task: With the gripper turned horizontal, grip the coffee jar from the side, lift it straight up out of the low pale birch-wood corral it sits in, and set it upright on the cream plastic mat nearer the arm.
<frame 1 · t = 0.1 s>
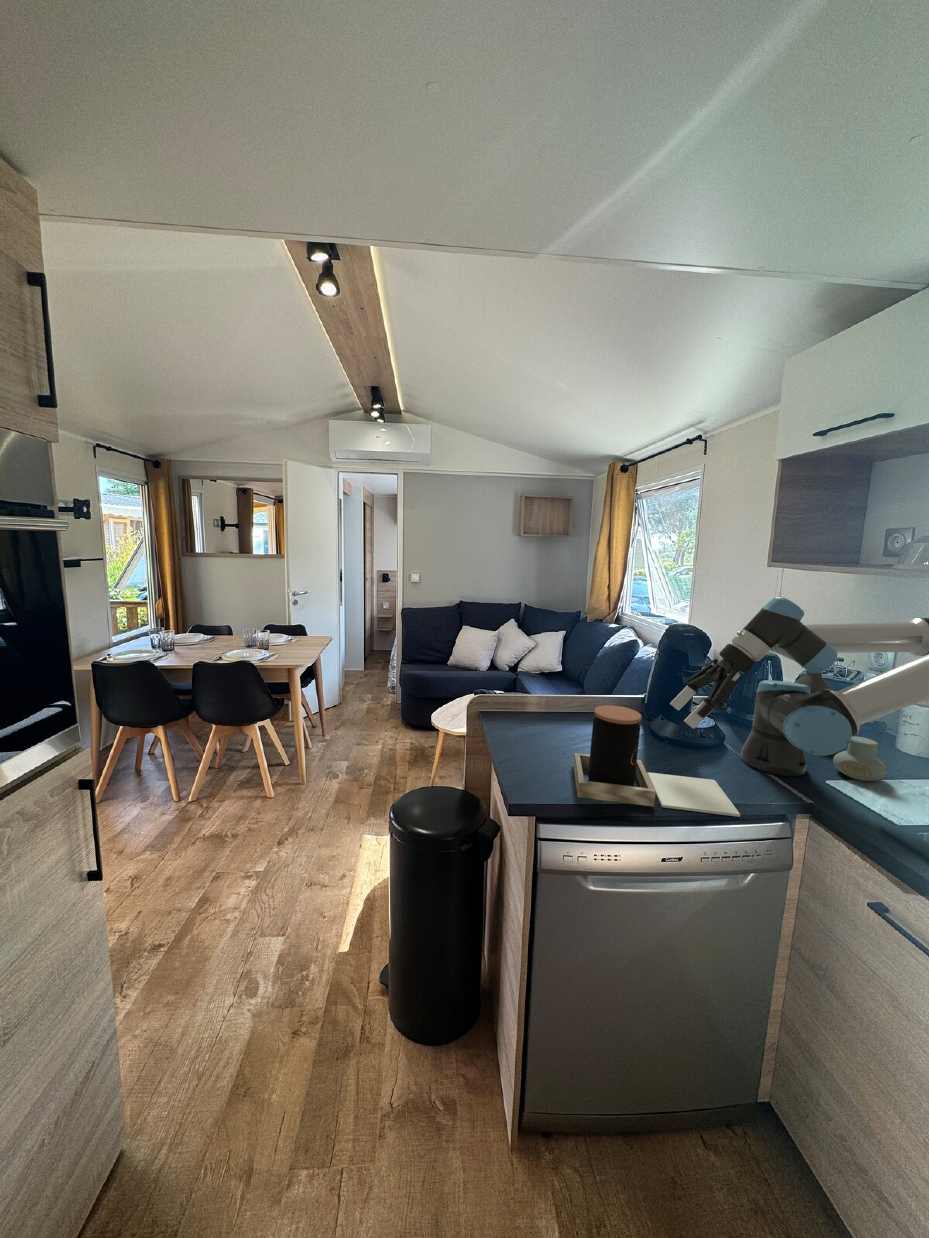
hand: (680, 715, 122), 15 cm above the countertop, tool tilted 35°, fingers open, 13 cm apart
birch corral: (610, 784, 117), on the countertop
cream mat: (689, 793, 114), on the countertop
liquor: (803, 738, 155), on the countertop
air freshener: (857, 777, 128), on the countertop
coffee jar: (610, 785, 117), resting in birch corral
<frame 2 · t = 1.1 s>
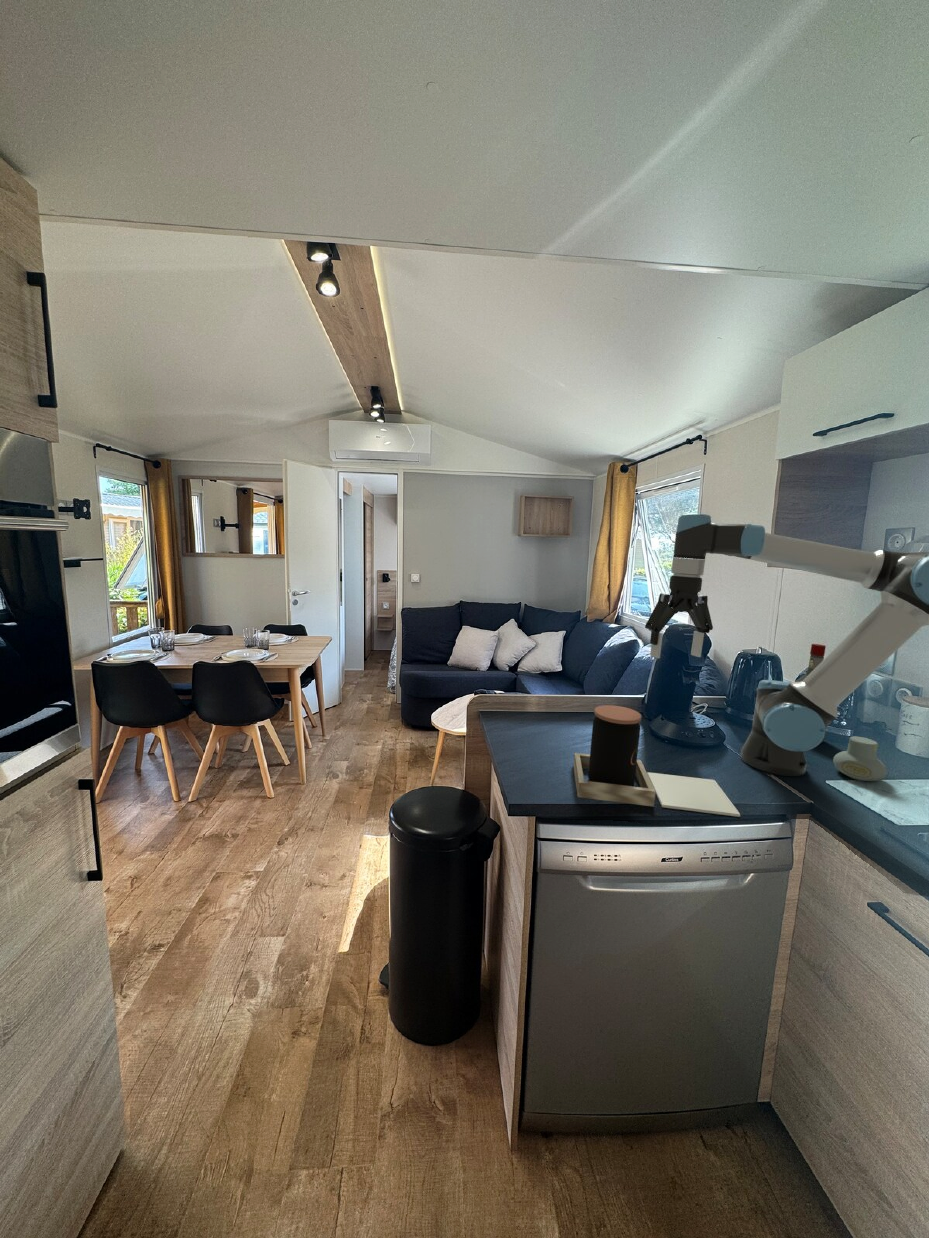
hand: (675, 656, 128), 29 cm above the countertop, tool pointing down, fingers open, 13 cm apart
nothing on the countertop moved.
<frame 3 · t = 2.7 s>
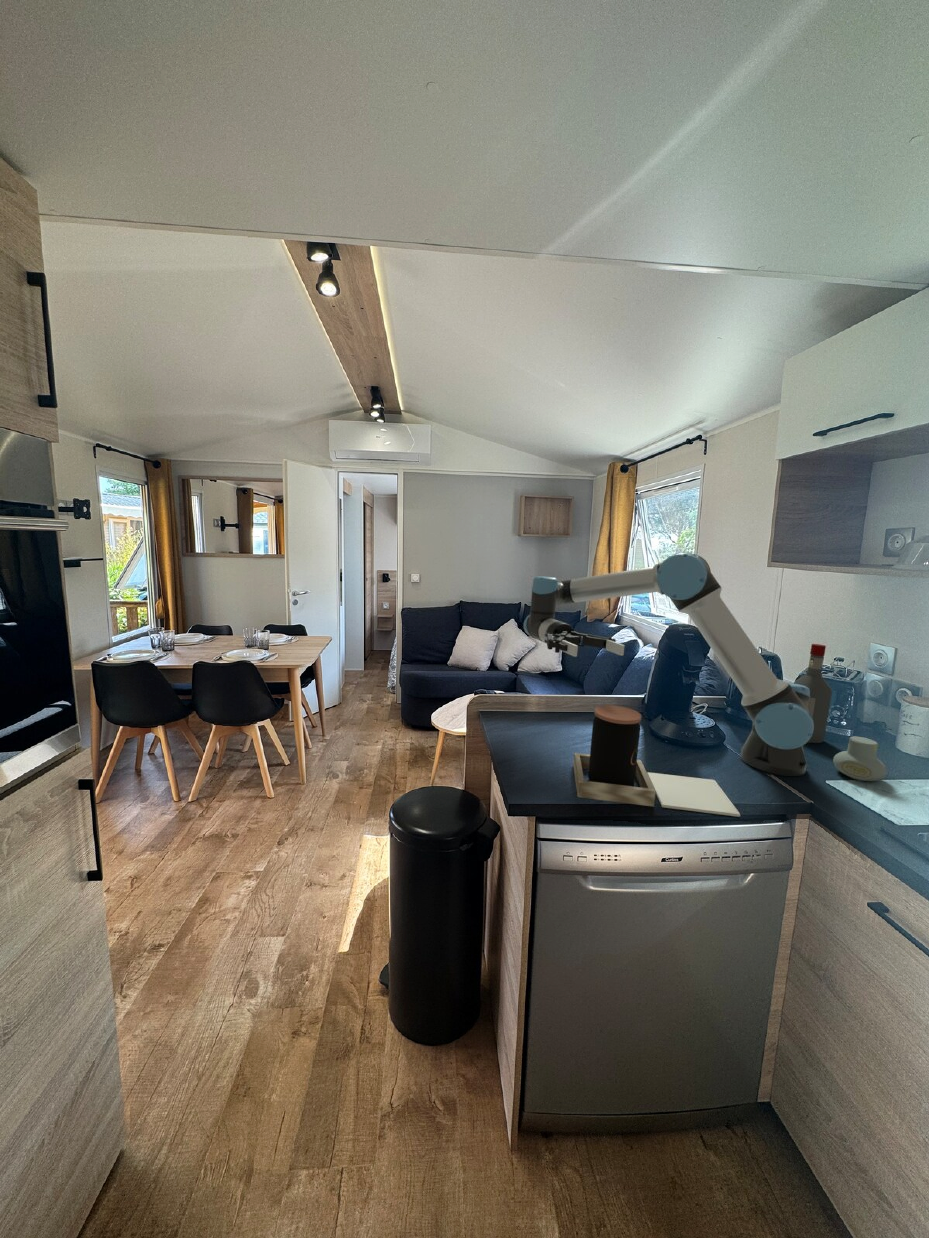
hand: (599, 650, 121), 31 cm above the countertop, tool horizontal, fingers open, 13 cm apart
nothing on the countertop moved.
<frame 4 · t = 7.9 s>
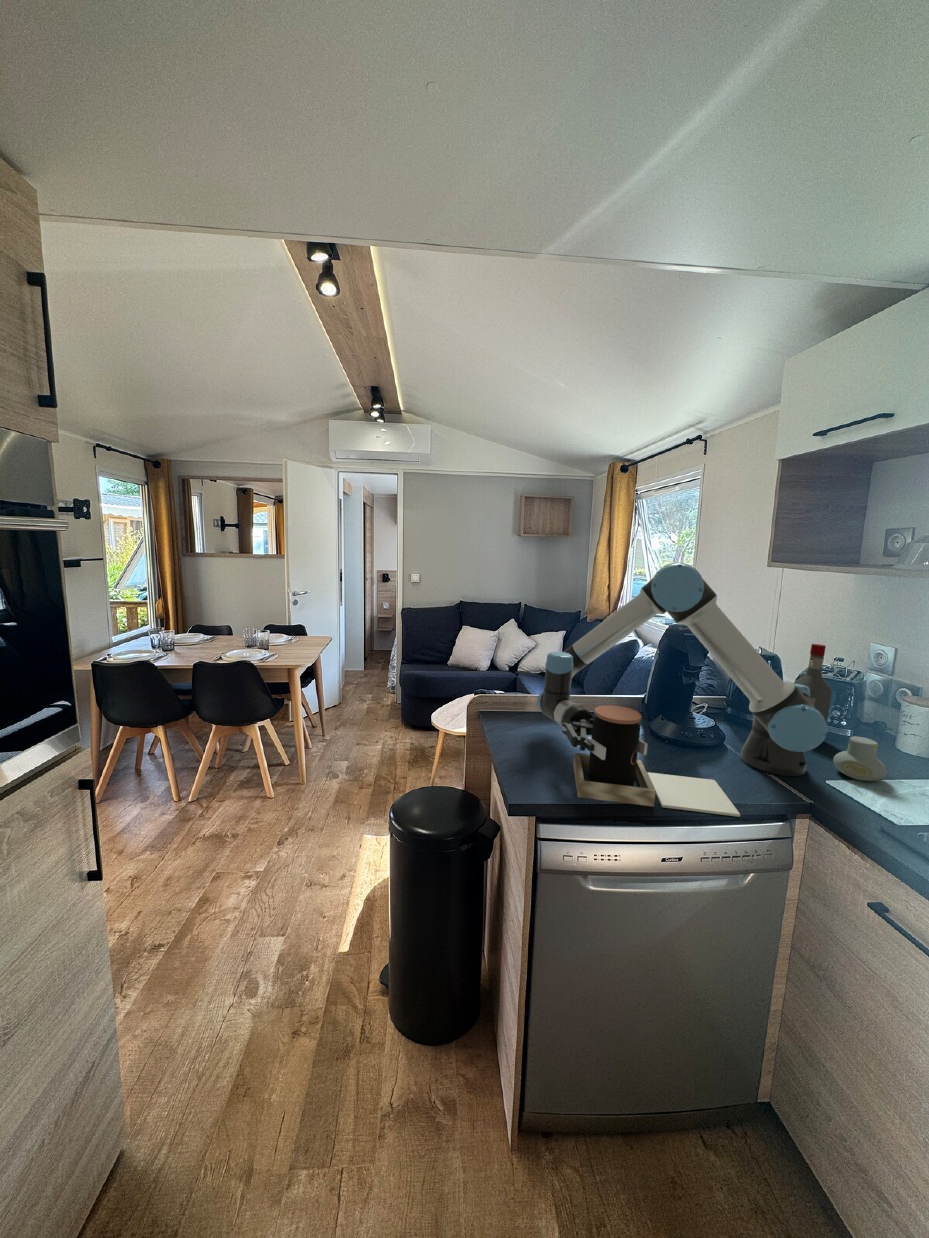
hand: (625, 751, 111), 10 cm above the countertop, tool horizontal, fingers closed on coffee jar, 11 cm apart
coffee jar: (610, 785, 117), resting in birch corral, touching gripper
everything else where it was.
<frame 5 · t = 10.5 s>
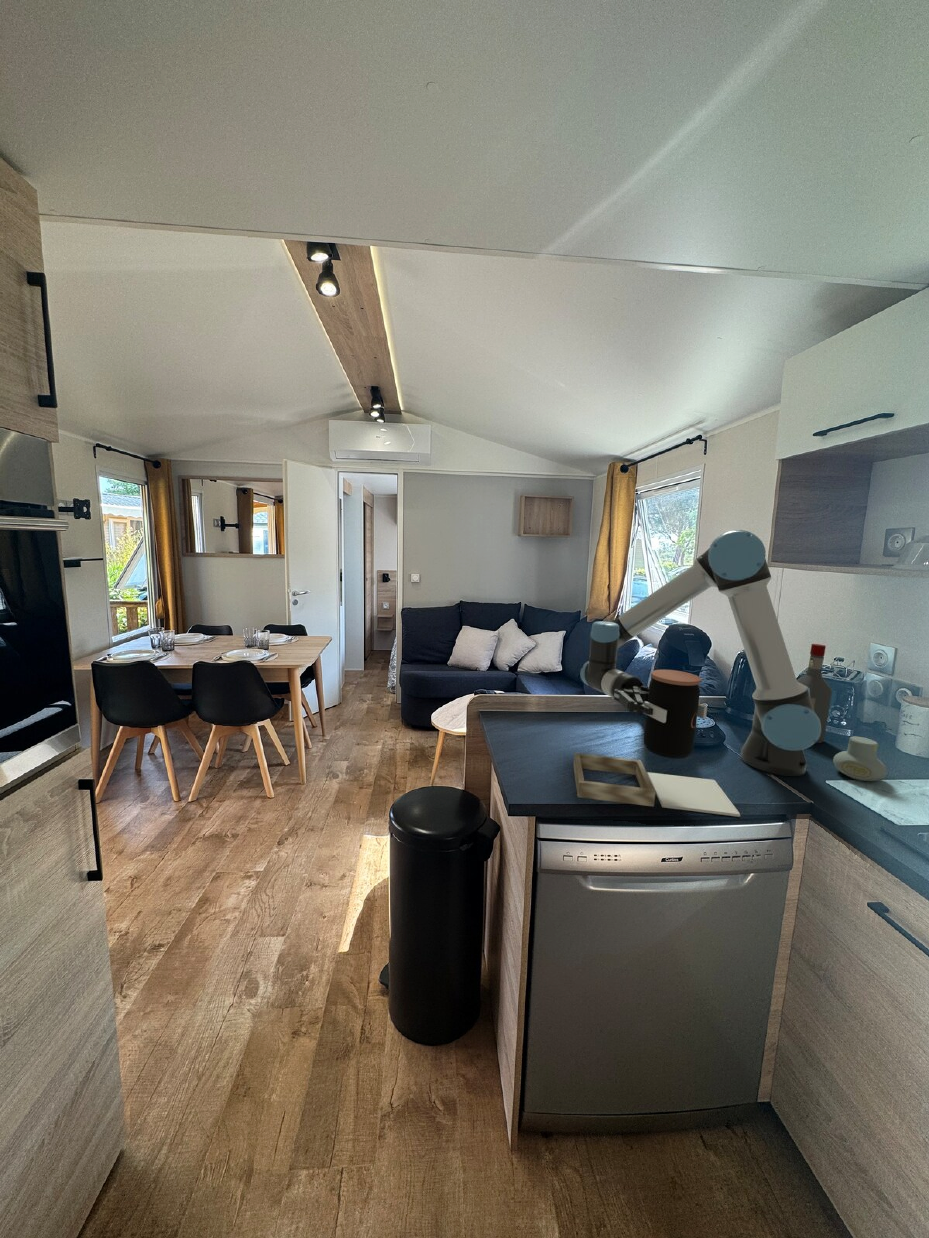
hand: (685, 714, 108), 20 cm above the countertop, tool horizontal, fingers closed on coffee jar, 11 cm apart
coffee jar: (667, 750, 114), point 10 cm above the countertop, touching gripper
everything else where it was.
when the fingers open (11 cm above the countertop, at t = 13.6 s): coffee jar stays where it is, resting on cream mat.
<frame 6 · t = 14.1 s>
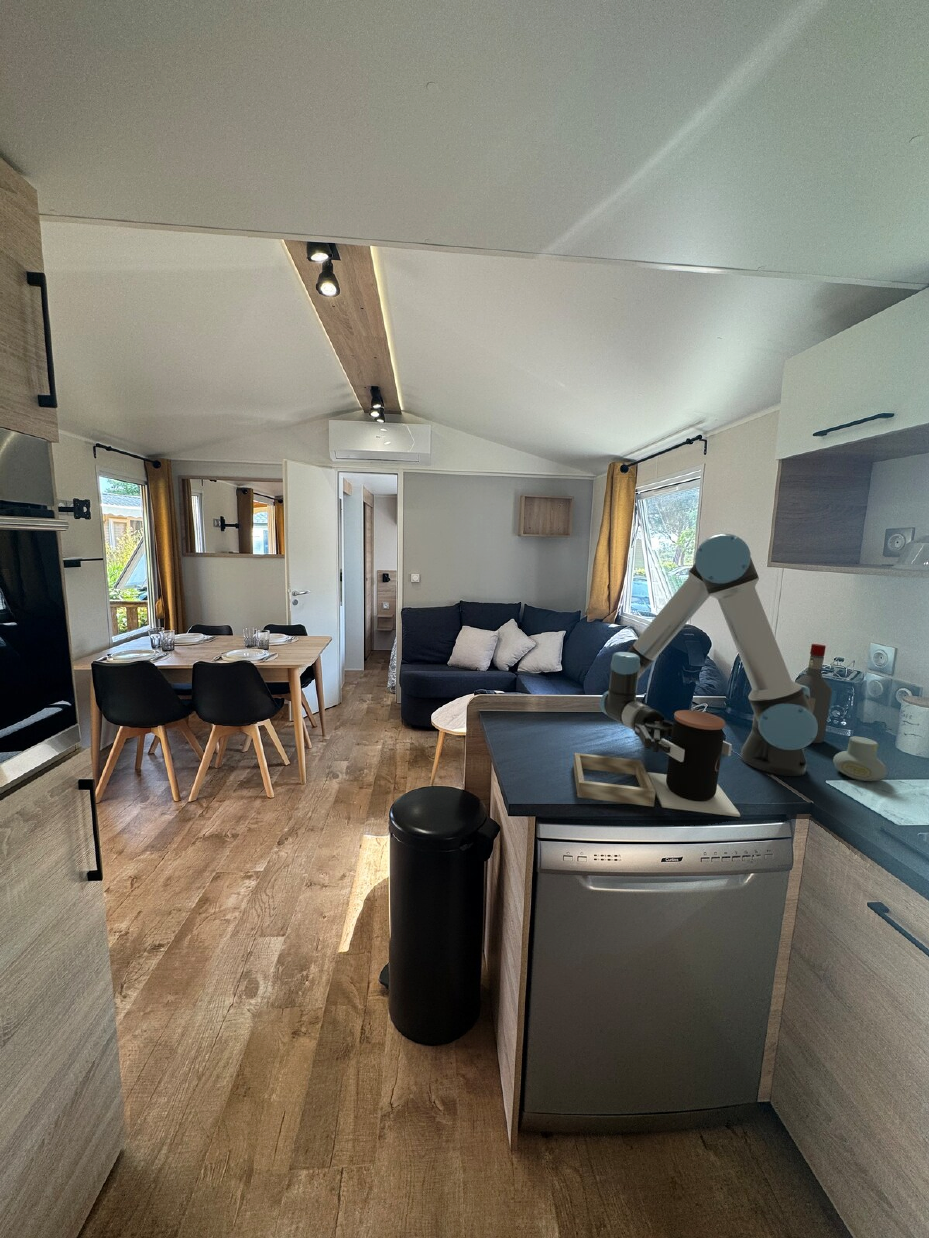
hand: (707, 753, 109), 11 cm above the countertop, tool horizontal, fingers open, 13 cm apart
coffee jar: (689, 792, 114), resting on cream mat
everything else where it was.
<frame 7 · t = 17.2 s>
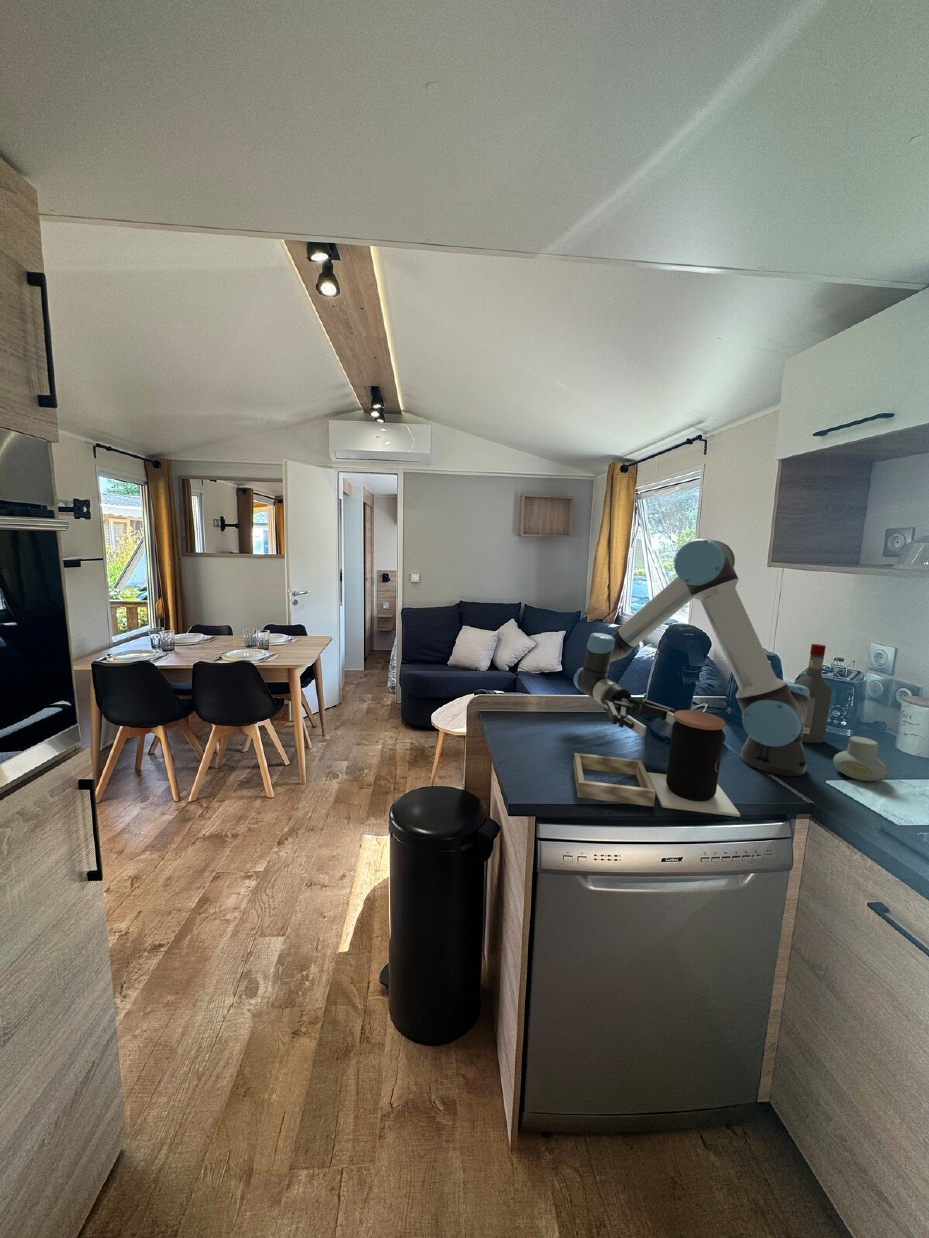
hand: (665, 729, 123), 12 cm above the countertop, tool horizontal, fingers open, 13 cm apart
nothing on the countertop moved.
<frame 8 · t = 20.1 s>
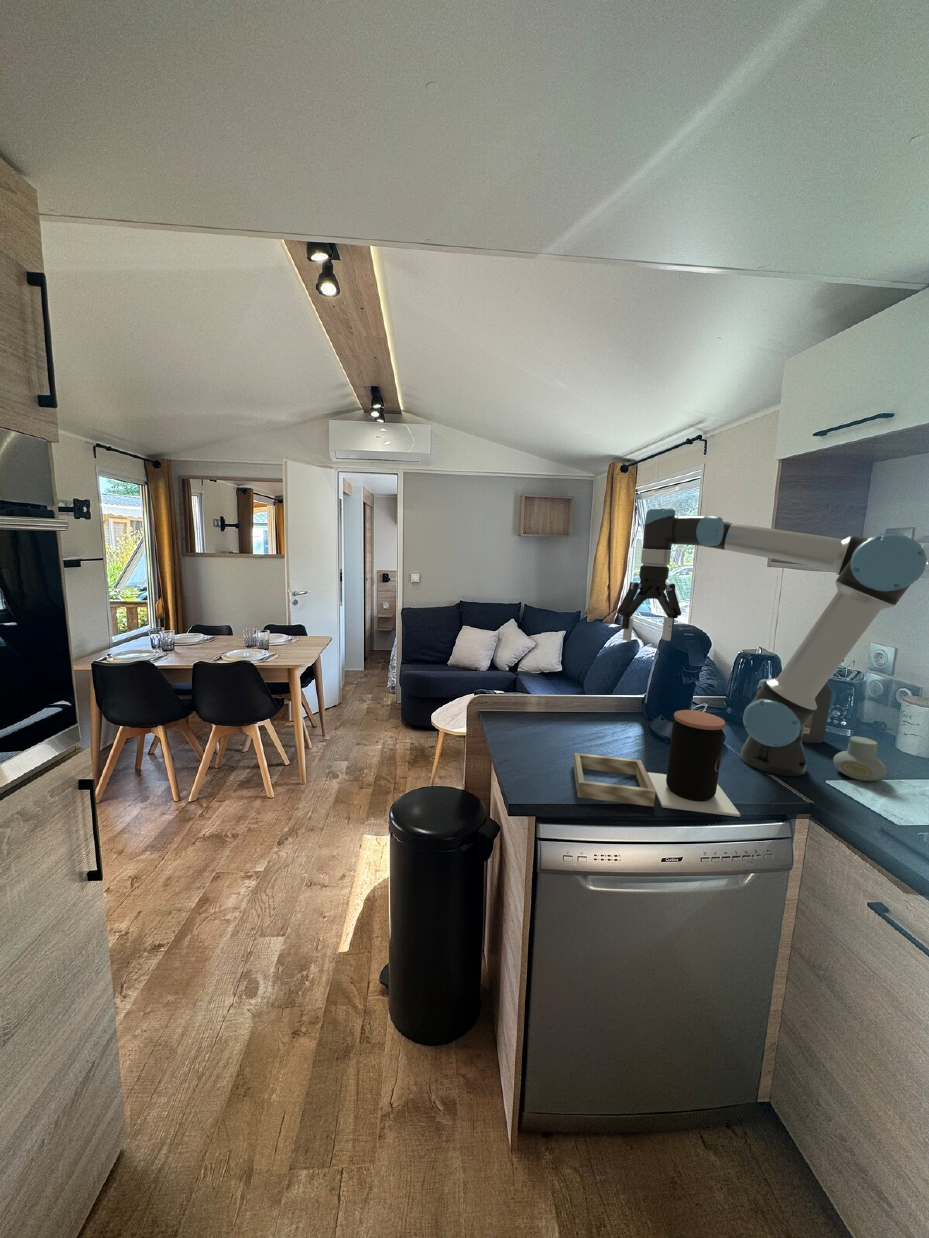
hand: (646, 640, 139), 31 cm above the countertop, tool pointing down, fingers open, 13 cm apart
nothing on the countertop moved.
at the end: coffee jar inside the target area on the cream mat (0.1 cm from its centre), point 0.4 cm above the cream mat's base; coffee jar tilted 0°; the gripper is holding nothing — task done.
